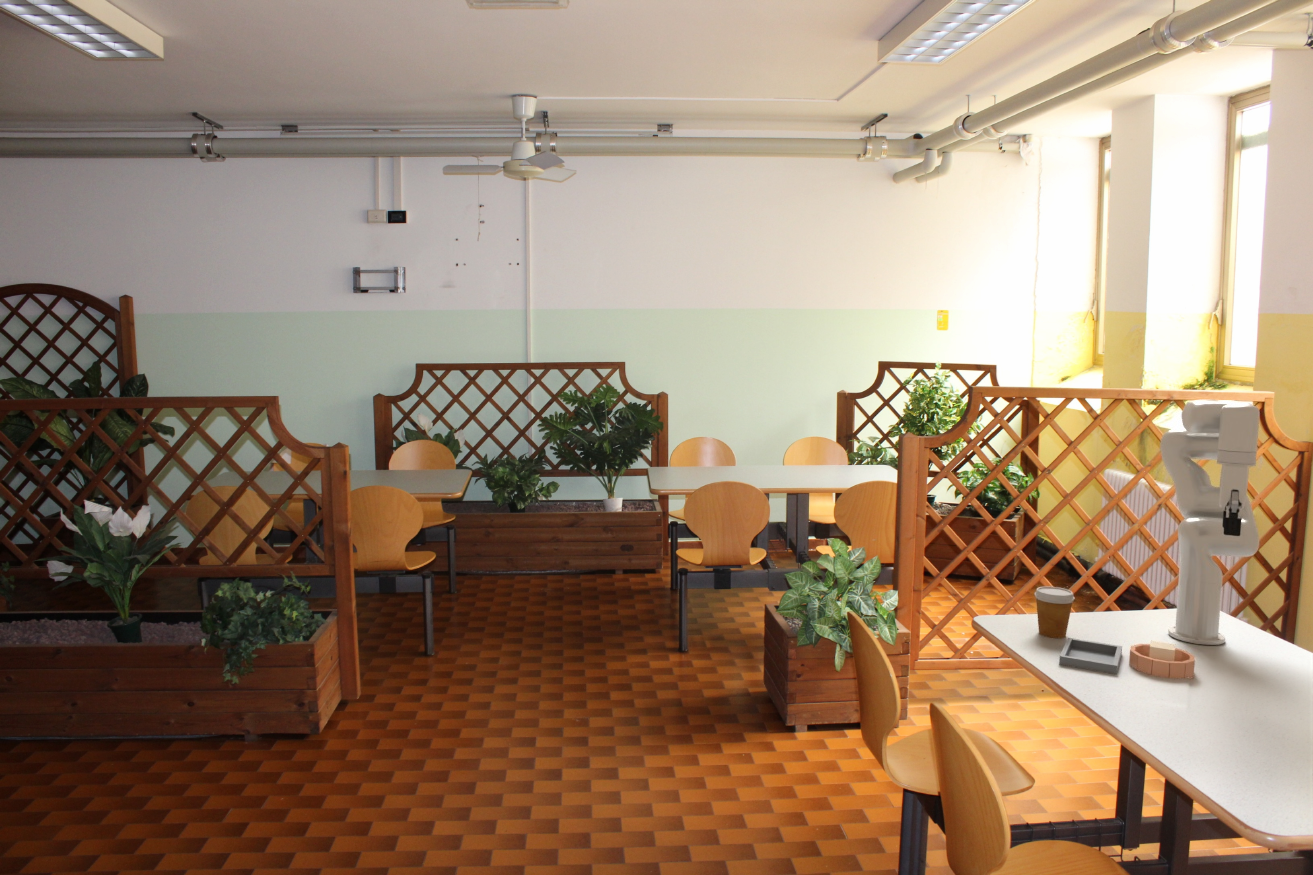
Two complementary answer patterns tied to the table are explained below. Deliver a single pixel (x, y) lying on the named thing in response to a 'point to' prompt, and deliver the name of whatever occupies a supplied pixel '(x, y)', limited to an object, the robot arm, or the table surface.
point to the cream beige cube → (1162, 651)
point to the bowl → (1162, 663)
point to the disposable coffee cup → (1053, 610)
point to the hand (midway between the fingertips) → (1231, 531)
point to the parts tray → (1091, 655)
